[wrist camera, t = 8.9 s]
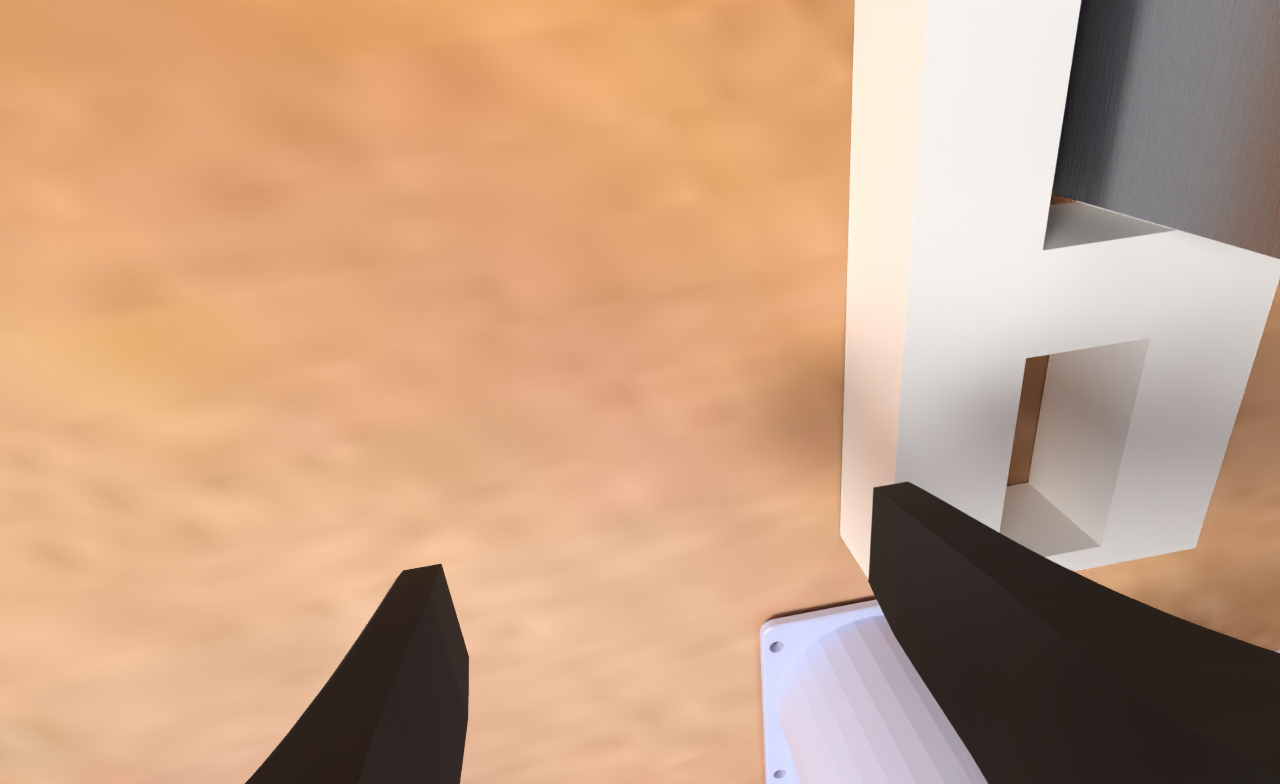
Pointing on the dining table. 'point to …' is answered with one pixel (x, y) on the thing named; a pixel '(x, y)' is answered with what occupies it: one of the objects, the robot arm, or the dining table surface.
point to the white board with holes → (1023, 301)
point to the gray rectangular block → (1177, 116)
